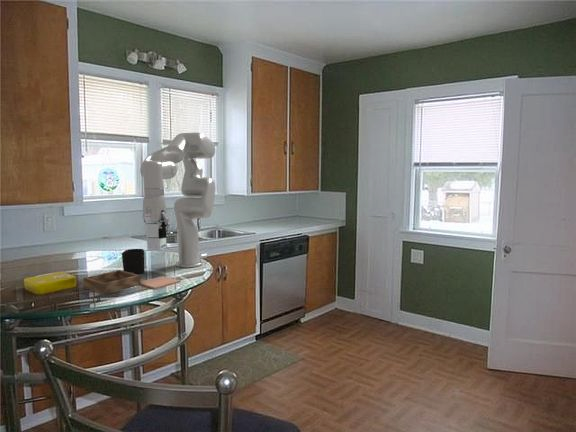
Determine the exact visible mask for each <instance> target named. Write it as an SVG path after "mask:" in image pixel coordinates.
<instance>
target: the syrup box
mask: <svg viewBox="0 0 576 432" xmlns="http://www.w3.org/2000/svg"><path fill="white" fill-rule="evenodd" d="M150 216H151V215H150V214H145V222H144V224H145V223H146V226H145V234H146V247H147V248H146V249H147V251H161V250H164V249H167V248H168V245H167V243H168V241H167V239H168V238H167V237H166V238H162V239H159V234H158V229H159V226H158V222H151V220H150ZM161 224H162V223H161Z"/></svg>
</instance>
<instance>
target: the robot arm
mask: <svg viewBox="0 0 576 432" xmlns="http://www.w3.org/2000/svg"><path fill="white" fill-rule="evenodd" d="M215 154H216V146H215V143H214V142H213V140H212V139H210V138H209V137H208V136H207V135H205V134H203V133H202V132H181V133H178V134H176V136H175V137H174V138H173V139H172V140H171V142H170V143H169V144H168V145H167V146H165V147H162V148H160V149H158V150H156V151H154V152H151V153H150V154H148V155H147V156H146V157H145V159H144V160H143V161H142V162H141V165H140V169H139V170H140V175H141V176H142V178H143V179H142V181H143V182H142V183H143V195H144V196H143V199H142V219H143V222H144V224H145V227H146V223H145V214H150V215H151V216H150V220H151V222H158V226H159V229H158V234H159V239H162V238H166V239H167V228H168V224H169V221H170V218H169V216H168V215H167V205H166V199H165V187H164V180H170V179H173V178H174V177H175V176H176V175H177V172H178V168H177V165H176V164H179V163H181V162H183V166H184V172H183V176H182V183H181V188H180V190H181V195H182V196H184V197H181V198H178V199H176V201H174V203H173V211H174V216H175V221H176V229H177V230H176V231H177V247H178V248H177V252H178V261H177V262H175V267H177V268H182V269H183V268H196V267H199V266H200V267H201V266H203V264H204V261H203V260H202V259H205V258H206V259H207V258H208V254H207V253H203V254H202V253H200V241H199V239H200V238H199V226H198V225H197V222H196V221H195V220H194V219H208V218H209V217H211V216H212V213H213V210H214V209H213V208H214V204H215V203H214V202H215V196H216V182H215V180H214V179H213V178H211V177H207V176H203V174H204V173H203V167H202V166H201V164H200V163H199V162H198V161H197V160H196V159H198V160H199V159H200V160H201V159H212V158H213V157H214V156H215ZM161 223H162V224H161Z"/></svg>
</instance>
